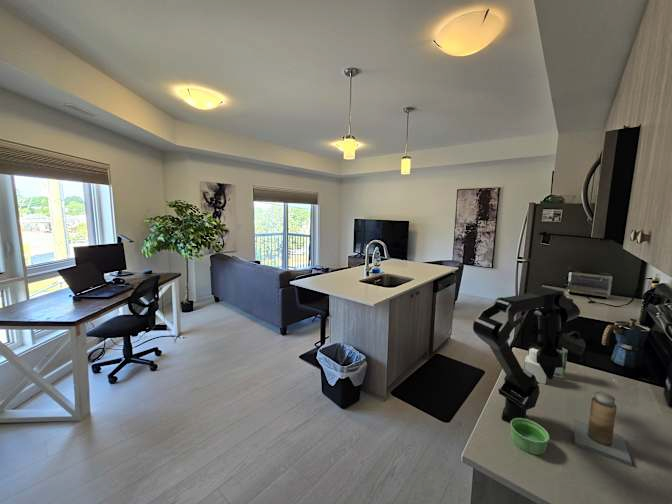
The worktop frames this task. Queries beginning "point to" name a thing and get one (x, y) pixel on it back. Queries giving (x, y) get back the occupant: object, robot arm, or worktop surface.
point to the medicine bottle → (534, 365)
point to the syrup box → (561, 371)
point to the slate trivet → (613, 451)
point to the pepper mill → (602, 418)
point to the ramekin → (529, 436)
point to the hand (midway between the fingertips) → (550, 370)
